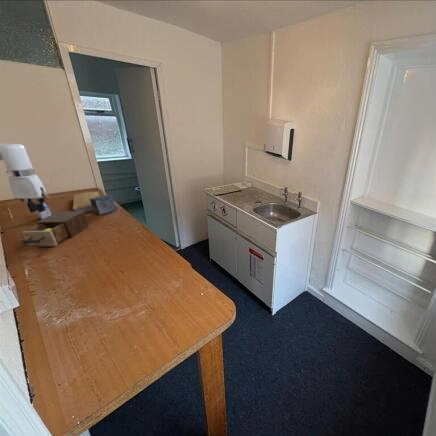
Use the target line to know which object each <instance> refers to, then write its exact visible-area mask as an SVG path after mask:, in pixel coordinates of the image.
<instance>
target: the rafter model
mask: <svg viewBox="0 0 436 436" xmlns="http://www.w3.org/2000/svg"><path fill="white" fill-rule="evenodd" d="M99 196H100V192H99V191H90V192H88V191H87V192H82V193H76V194H73V206H72V210H74V211H84V213H89V212H94V210H93V207H92V204H91V201H90V199H91V198H95V197H99Z"/></svg>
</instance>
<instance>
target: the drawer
mask: <svg viewBox="0 0 436 436" xmlns="http://www.w3.org/2000/svg"><path fill="white" fill-rule="evenodd" d="M48 228H52V229H51V230H50V231H43V230H45V229H48ZM21 234H22V236H23V238H24V240H22V241H21V243H22V244H26V245H27V246H29V247H30V246H38V247H56V246H58V245H59V244H58V243H60V242H61V241H63V240H65V239H67V238H66V237H67V236H69V234H68V232H67V229H66V226H65V224H64V223H42V224H40V225H38V224H37V225H36V226H34V227H32V228H30V229H27V230H23V231H21Z"/></svg>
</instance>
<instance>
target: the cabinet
mask: <svg viewBox="0 0 436 436" xmlns="http://www.w3.org/2000/svg"><path fill="white" fill-rule="evenodd" d="M42 223H64V224H65V226H66V229H67V232H68V234H69V236H67V237H66V238H65V239H73V238H74V237H75V236H77V235H78V234H80V233H81V232H83V231H85V230H86V229H88V228H89V227H90V226H89V225H90V224H89V221H88V219H87V215H86V212H84V211H75V210H64V211H63V210H62V211H60V210H59V211H56V212H54V213H51V215H50V216H48V217H46V218H44V219H40V220H38V221H36V224H37V226H38V225H40V224H42Z"/></svg>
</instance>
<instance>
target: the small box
mask: <svg viewBox="0 0 436 436" xmlns="http://www.w3.org/2000/svg"><path fill="white" fill-rule="evenodd" d="M90 201H91V204H92V207H93V210H94V211H93V213H94V214H95V215H98V216H102V215H106V214H109V213H112V212H115V211H117V207H116V204H115V201H114V197H113V195H110V194H104V195H99V197H94V198H91V199H90Z"/></svg>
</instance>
